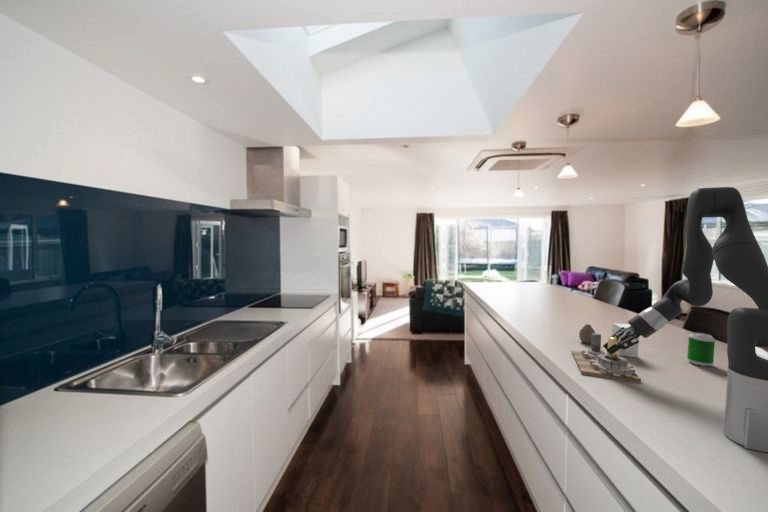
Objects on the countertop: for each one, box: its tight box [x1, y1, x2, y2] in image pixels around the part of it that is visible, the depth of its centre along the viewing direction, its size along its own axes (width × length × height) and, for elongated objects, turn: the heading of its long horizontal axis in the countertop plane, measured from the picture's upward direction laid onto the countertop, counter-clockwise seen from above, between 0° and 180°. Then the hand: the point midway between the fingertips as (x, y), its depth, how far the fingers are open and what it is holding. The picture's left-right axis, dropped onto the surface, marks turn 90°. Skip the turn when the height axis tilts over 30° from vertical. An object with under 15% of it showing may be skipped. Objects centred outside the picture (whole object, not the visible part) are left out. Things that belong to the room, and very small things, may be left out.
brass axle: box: [606, 336, 619, 361], centre depth 121 cm, size 4×4×10 cm
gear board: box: [571, 332, 642, 384], centre depth 127 cm, size 24×18×11 cm
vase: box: [578, 323, 596, 345], centre depth 155 cm, size 7×7×9 cm
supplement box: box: [611, 322, 640, 358], centre depth 140 cm, size 7×7×13 cm
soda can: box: [686, 332, 716, 367], centre depth 130 cm, size 8×8×12 cm
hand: (606, 350), depth 122 cm, fingers open, 4 cm apart
